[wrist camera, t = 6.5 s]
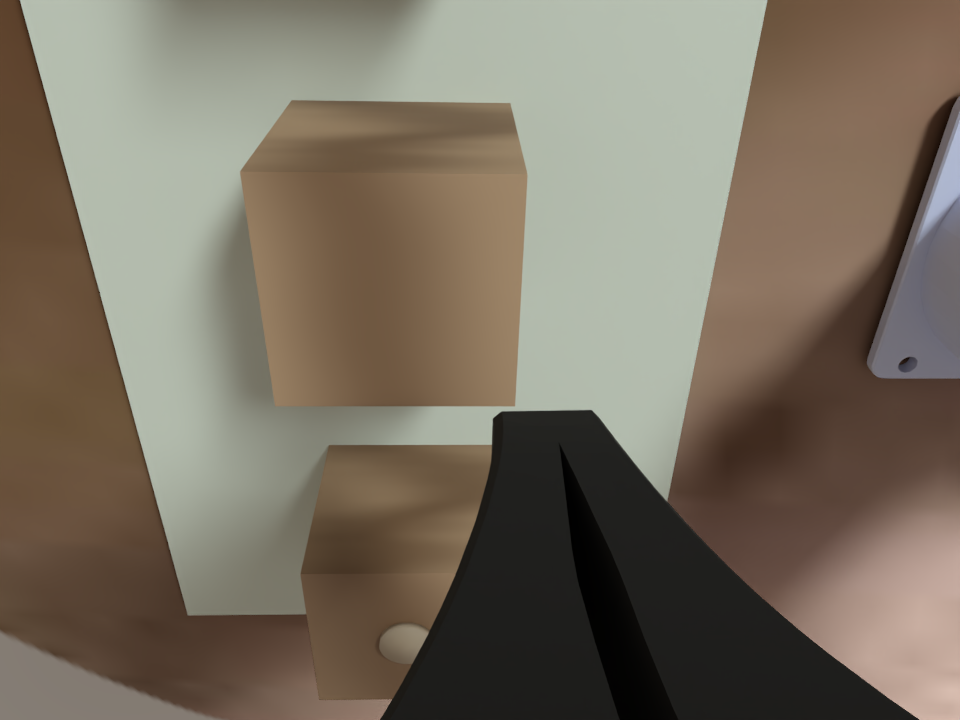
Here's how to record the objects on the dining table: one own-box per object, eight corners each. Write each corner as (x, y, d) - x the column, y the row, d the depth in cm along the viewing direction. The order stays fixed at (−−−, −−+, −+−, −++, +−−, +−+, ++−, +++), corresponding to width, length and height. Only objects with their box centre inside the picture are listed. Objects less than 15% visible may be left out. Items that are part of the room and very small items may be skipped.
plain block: (510, 103, 18) (527, 174, 13) (502, 296, 20) (515, 406, 16) (291, 100, 18) (239, 171, 13) (312, 295, 20) (275, 406, 16)
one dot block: (496, 444, 23) (506, 578, 19) (491, 562, 26) (499, 704, 21) (322, 445, 23) (290, 581, 18) (335, 563, 26) (310, 706, 21)
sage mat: (906, -748, 12) (920, -767, 11) (642, 602, 28) (645, 611, 27) (-186, -805, 11) (-206, -827, 11) (191, 606, 27) (187, 615, 27)
